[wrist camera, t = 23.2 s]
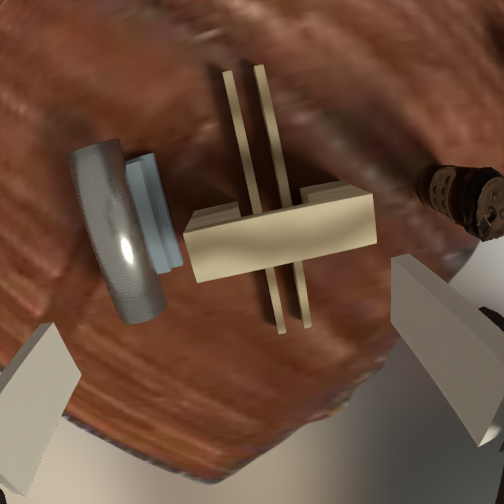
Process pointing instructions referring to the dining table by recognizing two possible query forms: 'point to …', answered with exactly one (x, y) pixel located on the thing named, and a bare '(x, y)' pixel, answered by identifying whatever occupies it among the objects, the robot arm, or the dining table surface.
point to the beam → (276, 219)
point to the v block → (154, 212)
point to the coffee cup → (466, 197)
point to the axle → (116, 231)
